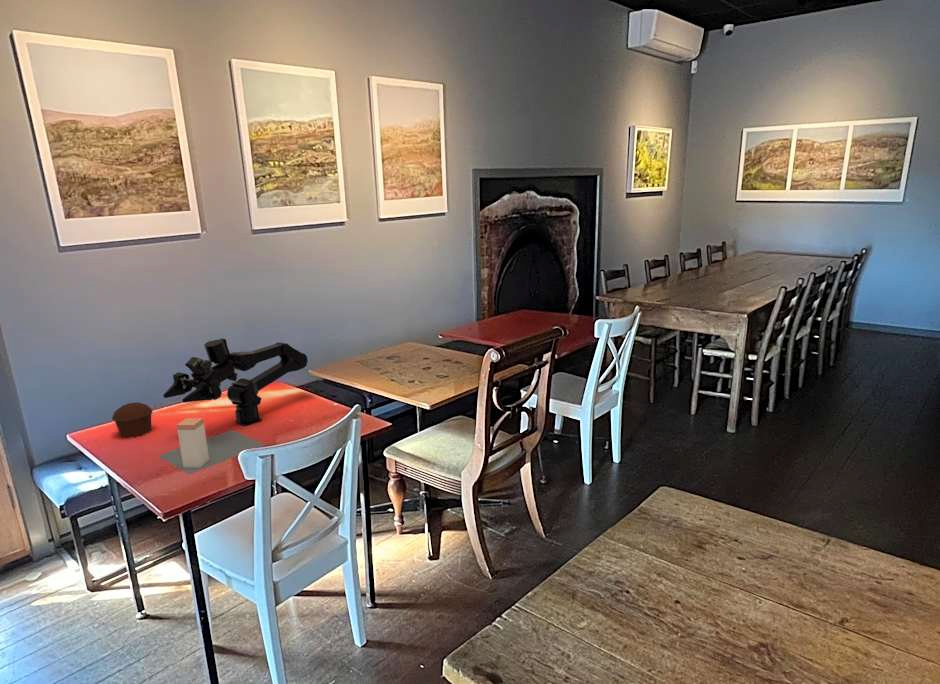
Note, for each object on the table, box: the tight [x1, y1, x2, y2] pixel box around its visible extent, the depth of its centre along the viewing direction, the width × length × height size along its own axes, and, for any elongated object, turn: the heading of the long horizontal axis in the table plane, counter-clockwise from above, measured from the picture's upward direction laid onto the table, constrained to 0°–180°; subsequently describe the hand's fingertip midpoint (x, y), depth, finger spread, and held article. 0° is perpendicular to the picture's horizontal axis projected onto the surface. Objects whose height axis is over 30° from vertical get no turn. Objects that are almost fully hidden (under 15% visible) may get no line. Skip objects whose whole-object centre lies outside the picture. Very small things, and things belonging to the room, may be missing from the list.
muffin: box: [111, 402, 154, 438], centre depth 191 cm, size 12×11×10 cm
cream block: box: [176, 417, 209, 468], centre depth 166 cm, size 5×5×13 cm
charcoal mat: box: [157, 429, 266, 475], centre depth 177 cm, size 24×20×1 cm
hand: (173, 398), depth 175 cm, fingers open, 9 cm apart
